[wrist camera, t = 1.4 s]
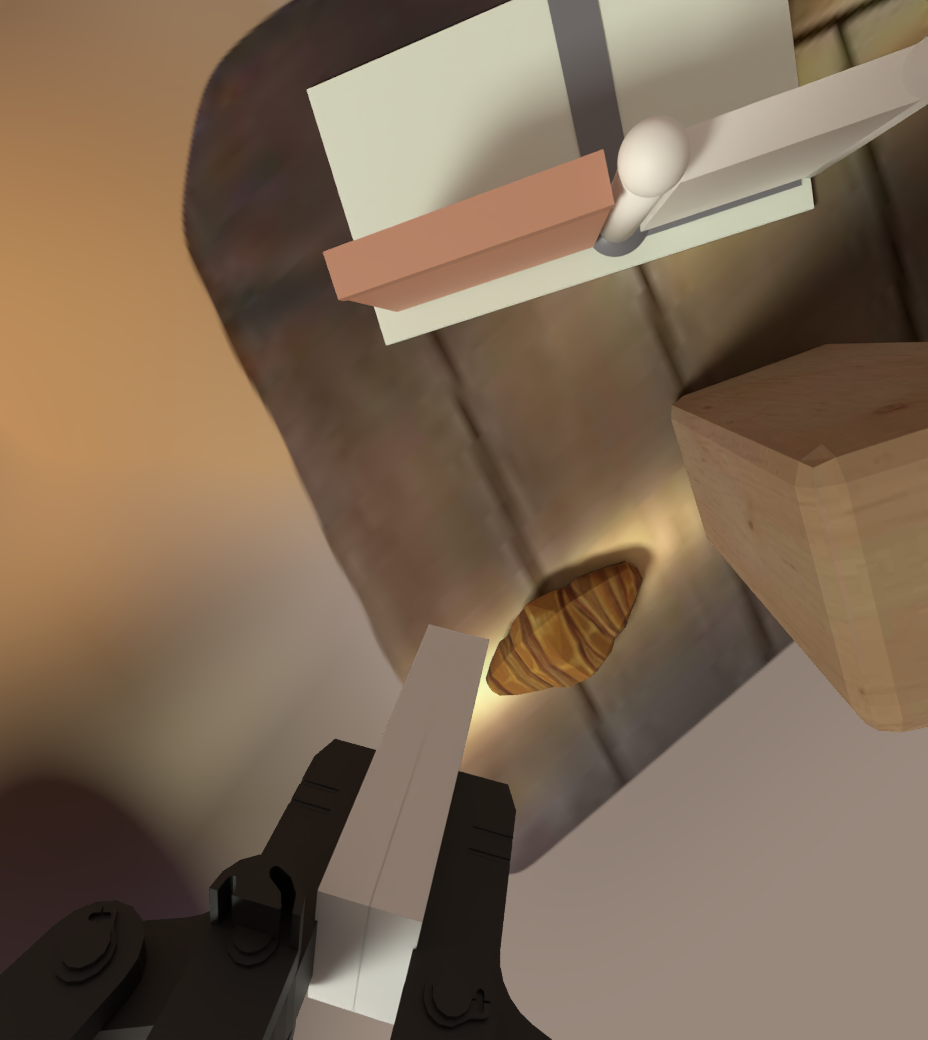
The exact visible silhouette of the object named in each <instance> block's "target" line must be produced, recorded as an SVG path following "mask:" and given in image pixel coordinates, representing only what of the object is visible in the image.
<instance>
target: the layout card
mask: <svg viewBox="0 0 928 1040" xmlns="http://www.w3.org/2000/svg"><path fill="white" fill-rule="evenodd" d="M797 87H799V83H798V75H797V67H796V59H795V51H794V44H793V36H792V28H791V20H790V12H789V4H788V0H512V1H509V2H507V3H505V4H502V5H500V6H498V7H496V8H493V9H491V10H489V11H486V12H484V13H482V14H479V15H477V16H475V17H473V18H470V19H468V20H466V21H463V22H461V23H459V24H457V25H454V26H452V27H450V28H447V29H445V30H443V31H440V32H438V33H436V34H434V35H431V36H429V37H427V38H424V39H422V40H420V41H417V42H415V43H413V44H411V45H408V46H406V47H404V48H401V49H399V50H397V51H394V52H392V53H390V54H388V55H385V56H383V57H381V58H378V59H376V60H374V61H371V62H369V63H367V64H365V65H362V66H360V67H358V68H355V69H353V70H351V71H348V72H346V73H344V74H342V75H339V76H337V77H335V78H332V79H330V80H328V81H326V82H323V83H321V84H319V85H316V86H314V87H312V88H309V89H307V92H308V96H309V99H310V102H311V105H312V108H313V112H314V115H315V118H316V121H317V125H318V128H319V131H320V134H321V137H322V141H323V144H324V147H325V150H326V154H327V157H328V160H329V163H330V166H331V170H332V173H333V176H334V179H335V182H336V186H337V189H338V192H339V195H340V199H341V202H342V205H343V208H344V211H345V215H346V218H347V221H348V224H349V228H350V231H351V234H352V237H353V240H357V239H359V238H362V237H365V236H368V235H370V234H373V233H376V232H379V231H381V230H384V229H387V228H389V227H392V226H395V225H398V224H400V223H403V222H406V221H409V220H411V219H414V218H417V217H419V216H422V215H425V214H428V213H430V212H433V211H436V210H439V209H441V208H444V207H447V206H449V205H452V204H455V203H458V202H460V201H463V200H466V199H468V198H471V197H474V196H477V195H479V194H482V193H485V192H488V191H490V190H493V189H496V188H498V187H501V186H504V185H507V184H509V183H512V182H515V181H518V180H520V179H523V178H526V177H528V176H531V175H534V174H537V173H539V172H542V171H545V170H548V169H550V168H553V167H556V166H558V165H561V164H564V163H567V162H569V161H572V160H575V159H578V158H580V157H583V156H586V155H588V154H591V153H594V152H597V151H599V150H602V149H603V150H604V154H605V159H606V164H607V169H608V174H609V179H610V184H612V181H613V179H614V176H615V174H616V171H617V169H618V167H617V161H618V154H619V150H620V147H621V144H622V142H623V140H624V138H625V137H626V135H627V134H628V132H629V131H630V130H631V129H632V128H633V127H634V126H635V125H636V124H638V123H639V122H640V121H642V120H644V119H646V118H648V117H652V116H657V115H663V116H668V117H671V118H673V119H675V120H677V121H678V122H679V123H680V124H681V125H682V126H683V127H684V128H687V127H690V126H693V125H695V124H698V123H701V122H704V121H706V120H709V119H712V118H715V117H717V116H720V115H723V114H726V113H728V112H731V111H734V110H737V109H739V108H742V107H745V106H748V105H750V104H753V103H756V102H759V101H761V100H764V99H767V98H770V97H772V96H775V95H778V94H781V93H783V92H786V91H789V90H792V89H794V88H797ZM813 208H814V202H813V194H812V186H811V178H802V179H799V180H796V181H793V182H790V183H787V184H784V185H781V186H778V187H775V188H772V189H769V190H766V191H763V192H760V193H757V194H754V195H751V196H748V197H745V198H742V199H739V200H736V201H733V202H730V203H727V204H724V205H721V206H718V207H715V208H712V209H709V210H706V211H703V212H700V213H697V214H694V215H691V216H688V217H685V218H682V219H679V220H676V221H673V222H670V223H667V224H664V225H661V226H658V227H655V228H652V229H649V230H646V231H643V232H641V231H640V226H639V227H638V228H637V229H636V231H635V232H634V233H633V235H632V236H631V237H630V238H629V239H627V240H626V241H624V242H621V243H610V242H608V241H606V240H605V239H604V238H603V237H602V236H601V235H600V234H599V236H598V238H597V240H596V242H595V244H594V247H591V248H588V249H585V250H582V251H579V252H576V253H573V254H570V255H567V256H564V257H561V258H558V259H555V260H552V261H549V262H546V263H543V264H540V265H537V266H534V267H531V268H528V269H525V270H522V271H519V272H516V273H513V274H510V275H507V276H504V277H501V278H498V279H495V280H492V281H489V282H486V283H483V284H480V285H477V286H474V287H471V288H468V289H465V290H462V291H459V292H456V293H453V294H450V295H447V296H444V297H441V298H438V299H435V300H432V301H429V302H426V303H423V304H420V305H417V306H414V307H411V308H408V309H405V310H402V311H399V312H394V311H390V310H386V309H382V308H378V307H374V308H375V311H376V314H377V318H378V321H379V324H380V327H381V330H382V334H383V337H384V340H385V343H386V345H391V344H394V343H397V342H400V341H403V340H406V339H409V338H413V337H416V336H419V335H422V334H425V333H428V332H431V331H434V330H438V329H441V328H444V327H447V326H450V325H453V324H456V323H459V322H462V321H466V320H469V319H472V318H475V317H478V316H481V315H484V314H487V313H491V312H494V311H497V310H500V309H503V308H506V307H509V306H512V305H515V304H519V303H522V302H525V301H528V300H531V299H534V298H537V297H540V296H544V295H547V294H550V293H553V292H556V291H559V290H562V289H565V288H568V287H572V286H575V285H578V284H581V283H584V282H587V281H590V280H593V279H597V278H600V277H603V276H606V275H609V274H612V273H615V272H618V271H622V270H625V269H628V268H631V267H634V266H637V265H640V264H643V263H646V262H650V261H653V260H656V259H659V258H662V257H665V256H668V255H671V254H675V253H678V252H681V251H684V250H687V249H690V248H693V247H696V246H699V245H703V244H706V243H709V242H712V241H715V240H718V239H721V238H724V237H728V236H731V235H734V234H737V233H740V232H743V231H746V230H749V229H752V228H756V227H759V226H762V225H765V224H768V223H771V222H774V221H777V220H781V219H784V218H787V217H790V216H793V215H796V214H799V213H802V212H805V211H809V210H811V209H813Z"/></svg>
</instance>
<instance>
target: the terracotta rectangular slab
mask: <svg viewBox="0 0 928 1040" xmlns="http://www.w3.org/2000/svg"><path fill="white" fill-rule="evenodd" d="M614 205H615V203H614V199H613V194H612V189H611V184H610V179H609V174H608V169H607V164H606V159H605V154H604V150H603V149H602V150H599V151H597V152H594V153H591V154H588V155H586V156H583V157H580V158H578V159H575V160H572V161H569V162H567V163H564V164H561V165H558V166H556V167H553V168H550V169H548V170H545V171H542V172H539V173H537V174H534V175H531V176H528V177H526V178H523V179H520V180H518V181H515V182H512V183H509V184H507V185H504V186H501V187H498V188H496V189H493V190H490V191H488V192H485V193H482V194H479V195H477V196H474V197H471V198H468V199H466V200H463V201H460V202H458V203H455V204H452V205H449V206H447V207H444V208H441V209H439V210H436V211H433V212H430V213H428V214H425V215H422V216H419V217H417V218H414V219H411V220H409V221H406V222H403V223H400V224H398V225H395V226H392V227H389V228H387V229H384V230H381V231H379V232H376V233H373V234H370V235H368V236H365V237H362V238H359V239H357V240H354V241H351V242H349V243H346V244H343V245H340V246H338V247H335V248H332V249H329V250H327V251H324V252H323V254H324V257H325V260H326V263H327V266H328V269H329V272H330V275H331V279H332V282H333V285H334V288H335V291H336V294H337V297H338V300H342V301H346V300H350V301H354V302H358V303H362V304H366V305H370V306H374V307H378V308H382V309H386V310H390V311H394V312H399V311H402V310H405V309H408V308H411V307H414V306H417V305H420V304H423V303H426V302H429V301H432V300H435V299H438V298H441V297H444V296H447V295H450V294H453V293H456V292H459V291H462V290H465V289H468V288H471V287H474V286H477V285H480V284H483V283H486V282H489V281H492V280H495V279H498V278H501V277H504V276H507V275H510V274H513V273H516V272H519V271H522V270H525V269H528V268H531V267H534V266H537V265H540V264H543V263H546V262H549V261H552V260H555V259H558V258H561V257H564V256H567V255H570V254H573V253H576V252H579V251H582V250H585V249H588V248H591V247H594V244H595V242H596V240H597V238H598V236H599V234H600V231H601V229H602V227H603V225H604V223H605V220H606V218H607V216H608V214H609V212H610V210H611V209H613V207H614Z"/></svg>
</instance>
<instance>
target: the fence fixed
mask: <svg viewBox="0 0 928 1040" xmlns="http://www.w3.org/2000/svg"><path fill="white" fill-rule="evenodd" d="M927 104H928V35H927V36H926V37H925V38H924V39H922V40H921V41H920V42H919V43H918V44H915V45H913V46H910V47H907V48H904V49H902V50H899V51H896V52H893V53H891V54H888V55H885V56H882V57H880V58H877V59H874V60H871V61H869V62H866V63H863V64H860V65H858V66H855V67H852V68H849V69H847V70H844V71H841V72H838V73H836V74H833V75H830V76H827V77H825V78H822V79H819V80H816V81H814V82H811V83H808V84H805V85H803V86H800V87H797V88H794V89H792V90H789V91H786V92H783V93H781V94H778V95H775V96H772V97H770V98H767V99H764V100H761V101H759V102H756V103H753V104H750V105H748V106H745V107H742V108H739V109H737V110H734V111H731V112H728V113H726V114H723V115H720V116H717V117H715V118H712V119H709V120H706V121H704V122H701V123H698V124H695V125H693V126H690V127H687V128H684V127H683V126H682V125H681V124H680V123H679V122H678V121H677V120H675V119H673V118H671V117H668V116H663V115H657V116H652V117H648V118H646V119H644V120H642V121H640V122H639V123H638V124H636V125H635V126H634V127H633V128H632V129H631V130H630V131H629V132H628V134H627V135H626V137H625V138H624V140H623V142H622V144H621V147H620V150H619V154H618V161H617V167H618V169H617V171H616V174H615V176H614V179H613V181H612V184H611V189H612V194H613V199H614V203H615V205H614V207H613V209H611V210H610V212H609V214H608V216H607V218H606V220H605V223H604V225H603V227H602V229H601V231H600V235H601V236H602V237H603V238H604V239H605V240H606V241H608V242H610V243H621V242H624V241H626V240H627V239H629V238H630V237H631V236H632V235H633V233H634V232H635V231H636V229H637V228H638V227H639V226H640V231H641V232H643V231H646V230H649V229H652V228H655V227H658V226H661V225H664V224H667V223H670V222H673V221H676V220H679V219H682V218H685V217H688V216H691V215H694V214H697V213H700V212H703V211H706V210H709V209H712V208H715V207H718V206H721V205H724V204H727V203H730V202H733V201H736V200H739V199H742V198H745V197H748V196H751V195H754V194H757V193H760V192H763V191H766V190H769V189H772V188H775V187H778V186H781V185H784V184H787V183H790V182H793V181H796V180H799V179H802V178H811V177H814V176H817V175H818V174H820V173H822V172H823V171H825V170H826V169H828V168H829V167H831V166H832V165H834V164H836V163H837V162H839V161H840V160H842V159H843V158H845V157H846V156H848V155H850V154H851V153H853V152H854V151H856V150H857V149H859V148H860V147H862V146H864V145H865V144H867V143H868V142H870V141H871V140H873V139H874V138H876V137H877V136H879V135H881V134H882V133H884V132H885V131H887V130H888V129H890V128H891V127H893V126H895V125H896V124H898V123H899V122H901V121H902V120H904V119H905V118H907V117H909V116H910V115H912V114H913V113H915V112H916V111H918V110H919V109H921V108H923V107H924V106H926V105H927Z"/></svg>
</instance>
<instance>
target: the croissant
mask: <svg viewBox="0 0 928 1040" xmlns="http://www.w3.org/2000/svg"><path fill="white" fill-rule="evenodd" d="M641 582H642V576H641V574H640V573H639V571H638V569H637V568H636V567H634V566H633V565H631V564H629V563H628V562H626V561H624V562H621V563H618V564H614V565H611V566H608V567H604V568H602V569H600V570H597V571H595V572H592V573H589V574H586V575H583V576H580V577H577V578H575V579H574V580H573V581H572V582H571V583H570V584H569V585H568V586H567V587H563V588H560V589H557V590H553V591H551V592H549V593H547V594H545V595H543V596H541V597H539V598H537V599H536V600H534V601H532V602H530V603H528V604H527V605H526V606H525V607H524V609H523V610H522V611H521V613H520V614H519V616H518V617H517V618H516V620H515V621H514V623H513V624H512V627H511V630H510V633H509V635H508V636H507V637H505V638H504V639H503V640H501V641H500V642H499V644H498V647H497V649H496V651H495V654H494V656H493V658H492V661H491V663H490V666H489V670H488V673H487V676H486V681H487V684H488V686H489V687H490V688H491V690H492V691H493V692H495V693H497V694H498V695H519V694H524V693H529V692H534V691H539V690H543V689H547V688H551V687H571V686H573V685H575V684H577V683H579V682H581V681H583V680H585V679H587V678H589V677H591V676H592V675H593V674H595V673H596V672H597V671H598V669H599V668H600V666H601V665H602V664H603V662H604V661H605V660H606V658H607V657H608V655H609V654H610V653H611V651H612V648H613V644H614V640H615V638H616V637H617V636H618V635H619V634H620V632H621V631H622V630H623V629H624V628H625V627H626V624H627V621H628V619H629V616H630V613H631V610H632V608H633V605H634V602H635V599H636V596H637V593H638V590H639V587H640V585H641Z"/></svg>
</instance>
